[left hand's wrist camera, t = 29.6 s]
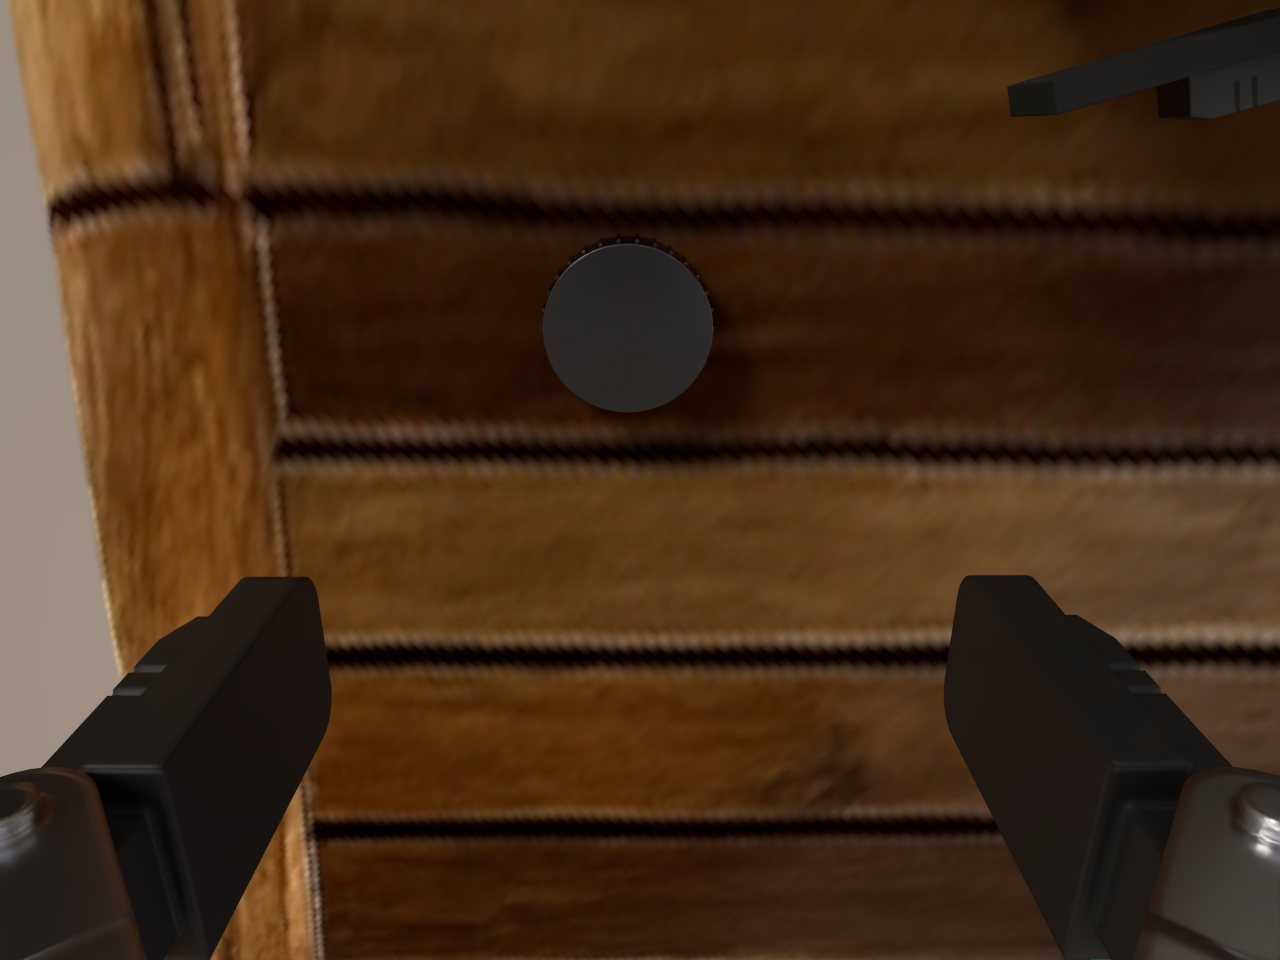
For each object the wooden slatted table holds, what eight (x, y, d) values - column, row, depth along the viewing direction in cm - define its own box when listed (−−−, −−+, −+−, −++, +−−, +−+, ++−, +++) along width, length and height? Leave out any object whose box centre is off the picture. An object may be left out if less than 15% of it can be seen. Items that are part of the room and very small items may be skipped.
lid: (659, 200, 29) (661, 205, 27) (739, 348, 30) (746, 363, 28) (514, 287, 30) (505, 298, 28) (599, 425, 31) (597, 444, 29)
